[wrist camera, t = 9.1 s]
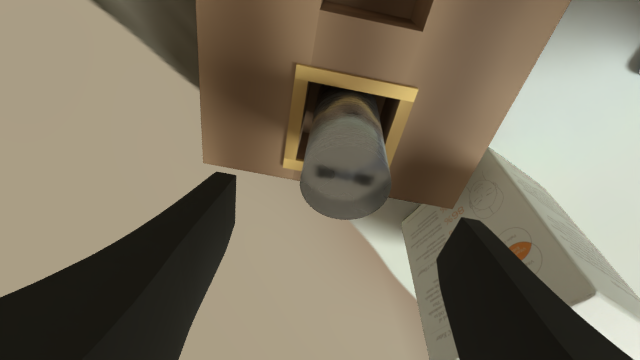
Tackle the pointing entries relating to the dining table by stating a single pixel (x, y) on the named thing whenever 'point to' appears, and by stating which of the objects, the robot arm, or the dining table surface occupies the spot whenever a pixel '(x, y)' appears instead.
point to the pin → (345, 156)
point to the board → (367, 80)
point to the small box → (520, 255)
